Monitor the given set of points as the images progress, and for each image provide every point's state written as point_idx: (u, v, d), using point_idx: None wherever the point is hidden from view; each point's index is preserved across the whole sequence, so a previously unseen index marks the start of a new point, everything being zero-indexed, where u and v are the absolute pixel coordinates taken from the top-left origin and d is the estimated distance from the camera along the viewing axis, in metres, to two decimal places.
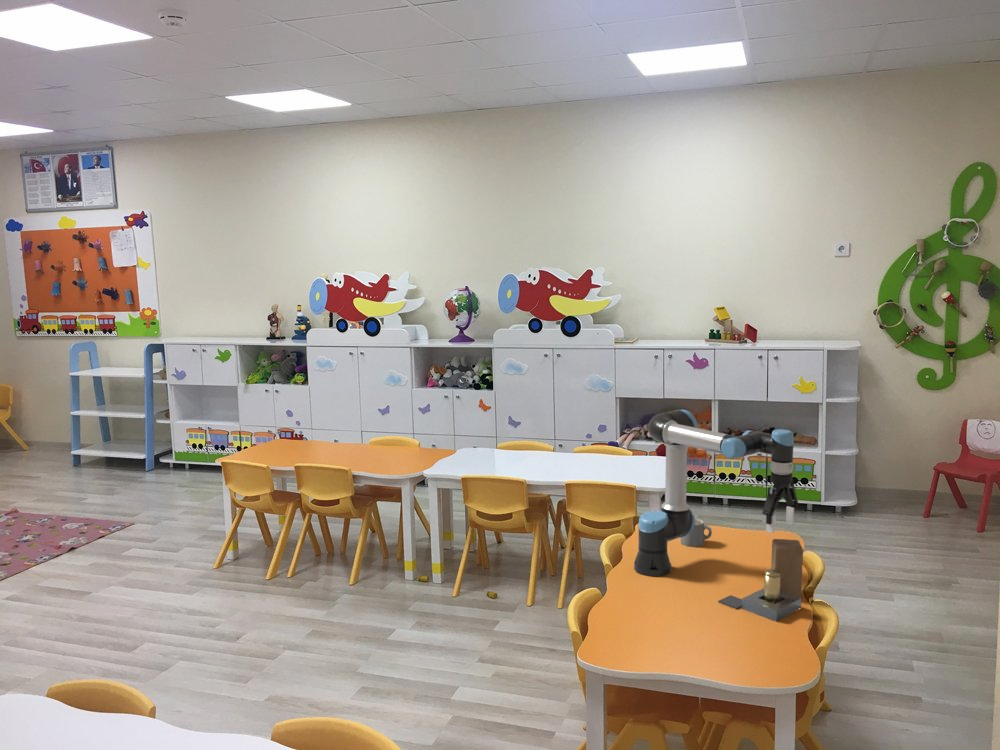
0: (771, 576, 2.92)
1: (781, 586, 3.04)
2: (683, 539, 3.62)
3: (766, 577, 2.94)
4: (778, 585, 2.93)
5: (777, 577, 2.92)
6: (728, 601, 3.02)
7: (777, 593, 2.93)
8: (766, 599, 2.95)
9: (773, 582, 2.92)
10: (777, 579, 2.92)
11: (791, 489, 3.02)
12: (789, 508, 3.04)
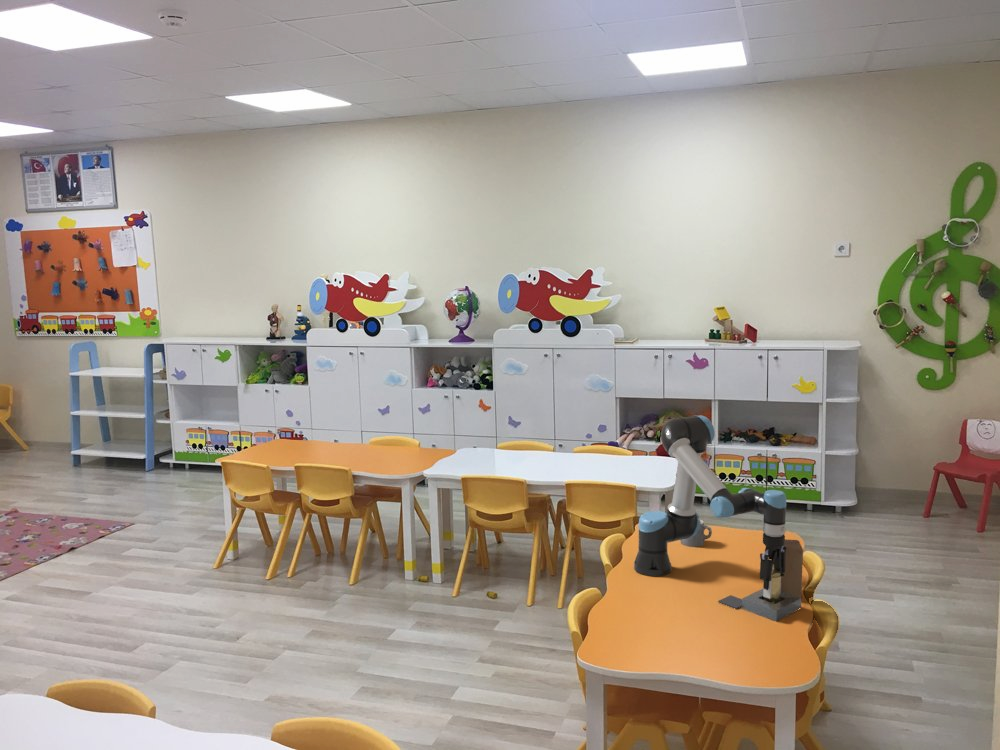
0: (771, 576, 2.92)
1: (781, 586, 3.04)
2: (683, 539, 3.62)
3: None
4: (778, 585, 2.93)
5: (777, 577, 2.92)
6: (728, 601, 3.02)
7: (777, 593, 2.93)
8: (766, 599, 2.95)
9: (773, 582, 2.92)
10: (777, 578, 2.92)
11: (782, 553, 2.96)
12: None
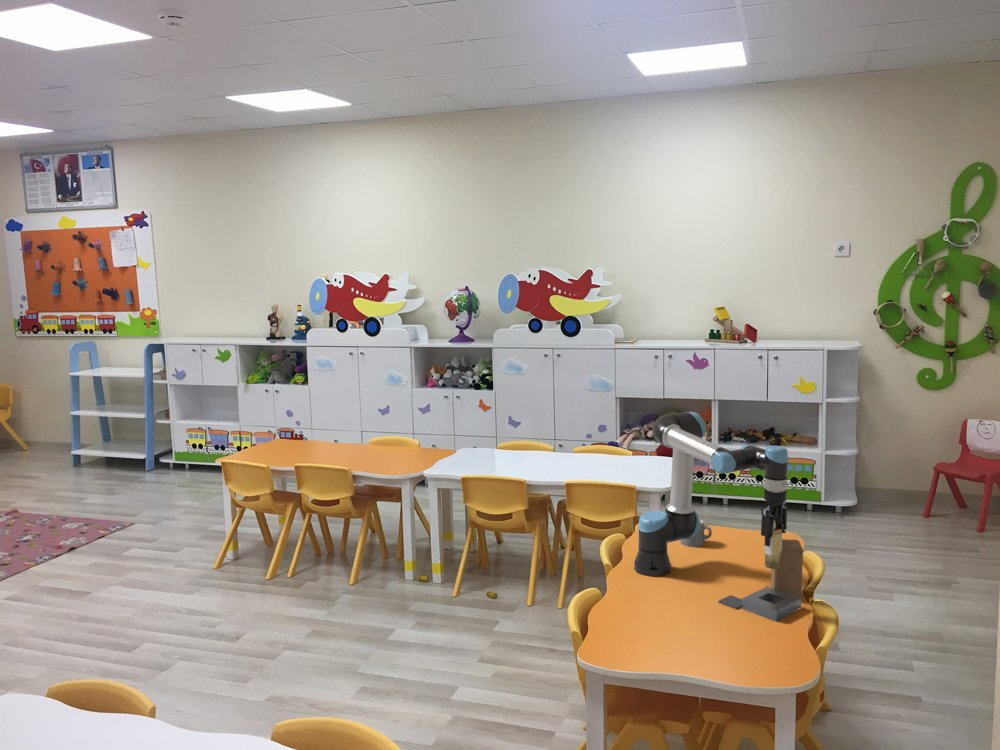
0: (772, 532, 2.90)
1: (781, 586, 3.04)
2: (683, 539, 3.62)
3: None
4: (779, 542, 2.91)
5: (779, 534, 2.90)
6: (728, 601, 3.02)
7: (778, 550, 2.91)
8: (767, 556, 2.92)
9: (775, 539, 2.90)
10: (779, 535, 2.90)
11: (783, 510, 2.94)
12: None
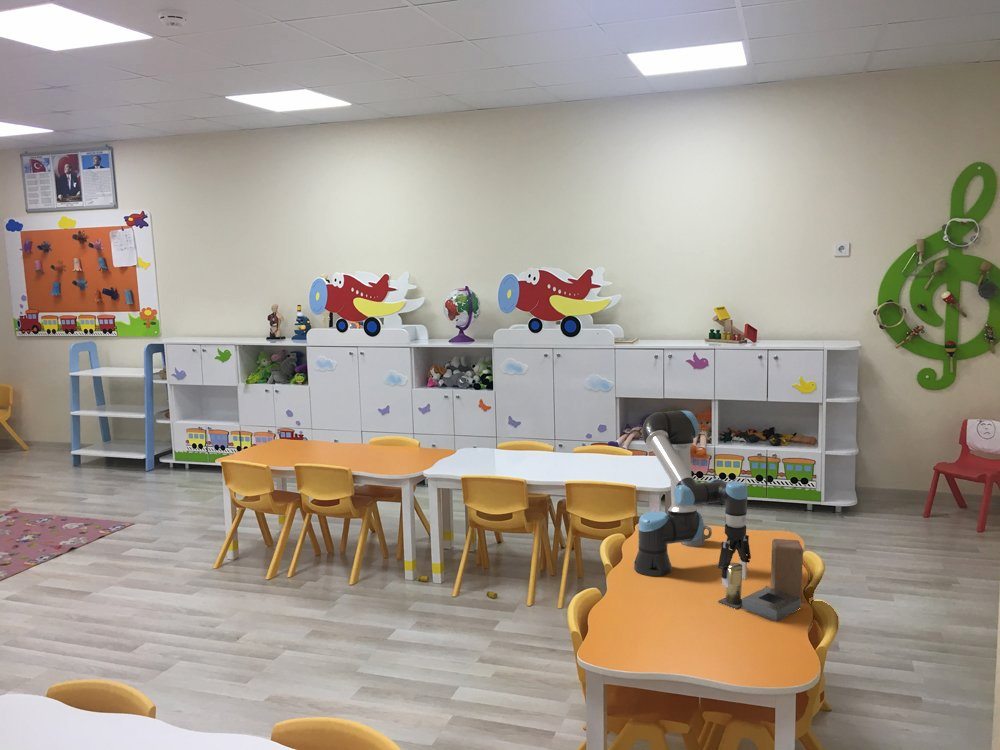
0: (733, 569, 2.97)
1: (781, 586, 3.04)
2: None
3: None
4: (740, 578, 2.98)
5: (739, 570, 2.97)
6: None
7: (739, 586, 2.98)
8: (728, 592, 3.00)
9: (735, 575, 2.97)
10: (739, 572, 2.97)
11: (745, 542, 3.02)
12: (742, 563, 3.03)
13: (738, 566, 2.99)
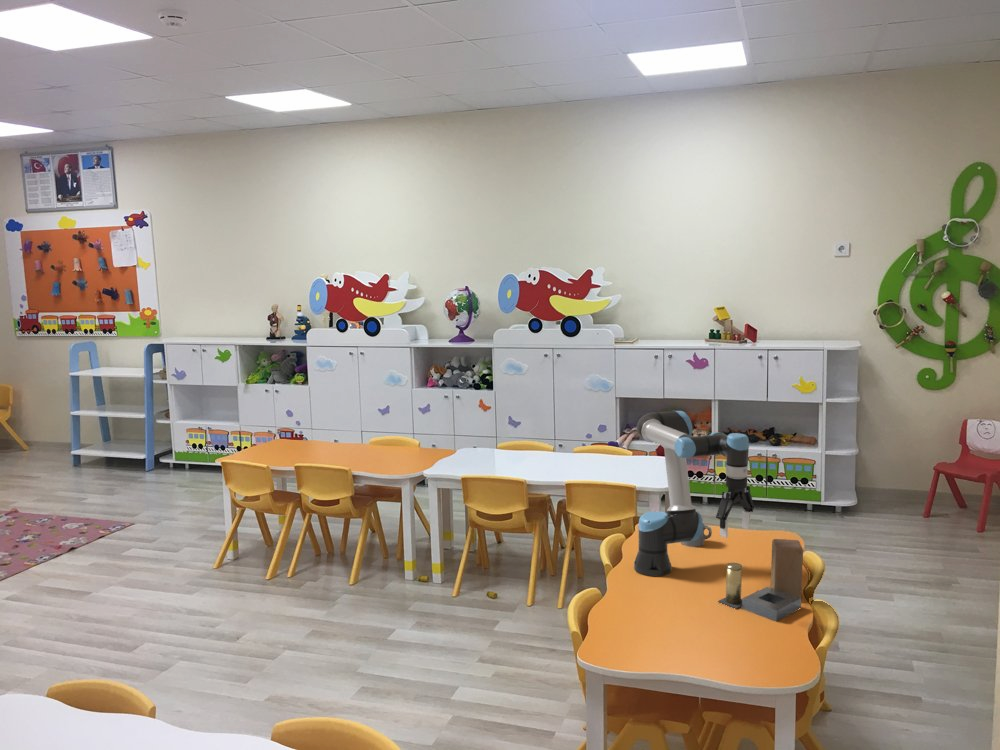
0: (732, 569, 2.97)
1: (781, 586, 3.04)
2: None
3: (728, 570, 2.99)
4: (739, 578, 2.98)
5: (739, 570, 2.97)
6: None
7: (738, 586, 2.98)
8: (728, 592, 3.00)
9: (735, 575, 2.97)
10: (738, 572, 2.97)
11: (747, 493, 3.00)
12: (745, 512, 3.02)
13: (738, 566, 2.99)
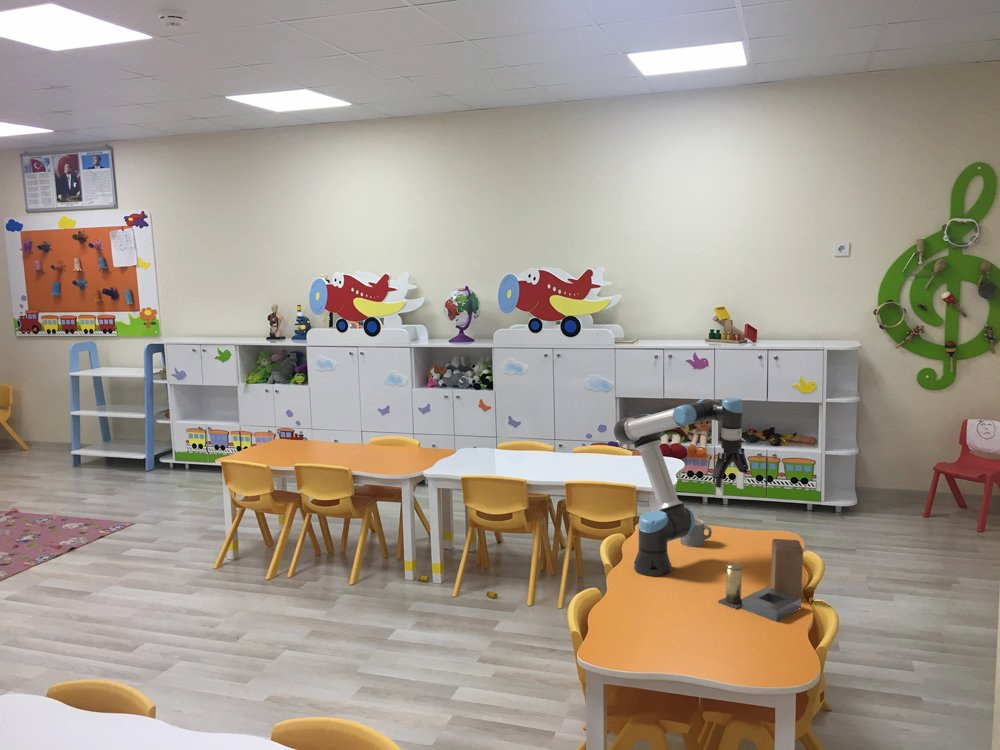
0: (732, 569, 2.97)
1: (781, 586, 3.04)
2: (683, 539, 3.62)
3: (728, 570, 2.99)
4: (739, 578, 2.98)
5: (739, 570, 2.97)
6: None
7: (738, 586, 2.98)
8: (728, 592, 3.00)
9: (735, 575, 2.97)
10: (738, 571, 2.97)
11: (741, 455, 3.17)
12: (740, 473, 3.19)
13: (738, 566, 2.99)
